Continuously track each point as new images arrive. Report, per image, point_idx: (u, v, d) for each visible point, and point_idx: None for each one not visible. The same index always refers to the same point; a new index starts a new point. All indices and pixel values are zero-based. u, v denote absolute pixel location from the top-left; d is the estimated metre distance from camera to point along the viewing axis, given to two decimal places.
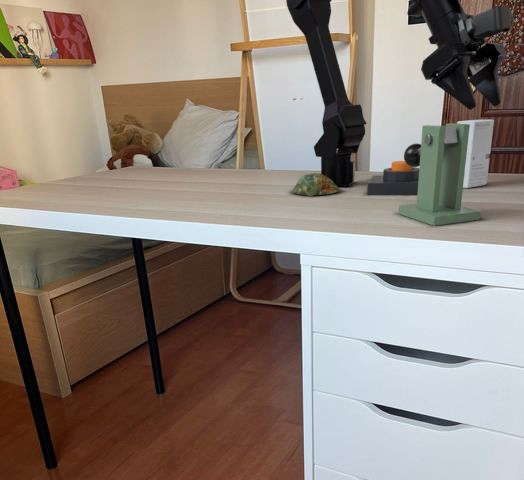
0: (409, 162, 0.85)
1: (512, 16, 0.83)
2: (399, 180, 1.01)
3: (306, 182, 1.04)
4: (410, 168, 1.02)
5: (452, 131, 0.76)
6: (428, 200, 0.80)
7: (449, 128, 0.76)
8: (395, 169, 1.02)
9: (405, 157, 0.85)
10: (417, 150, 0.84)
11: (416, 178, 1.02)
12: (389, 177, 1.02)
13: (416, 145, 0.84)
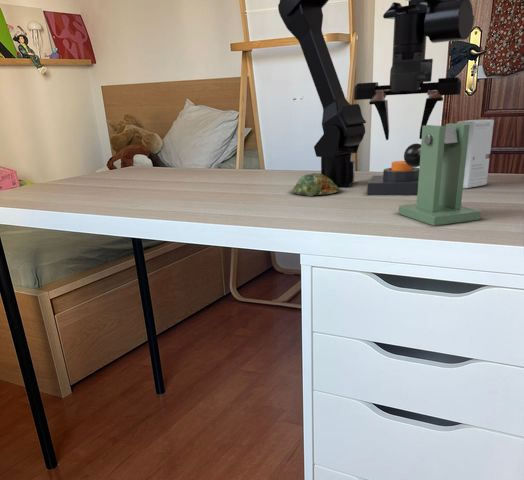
0: (409, 162, 0.85)
1: (422, 79, 0.89)
2: (399, 180, 1.01)
3: (306, 182, 1.04)
4: (410, 168, 1.02)
5: (452, 131, 0.76)
6: (428, 200, 0.80)
7: (449, 128, 0.76)
8: (395, 169, 1.02)
9: (405, 157, 0.85)
10: (417, 150, 0.84)
11: (416, 178, 1.02)
12: (389, 177, 1.02)
13: (416, 145, 0.84)
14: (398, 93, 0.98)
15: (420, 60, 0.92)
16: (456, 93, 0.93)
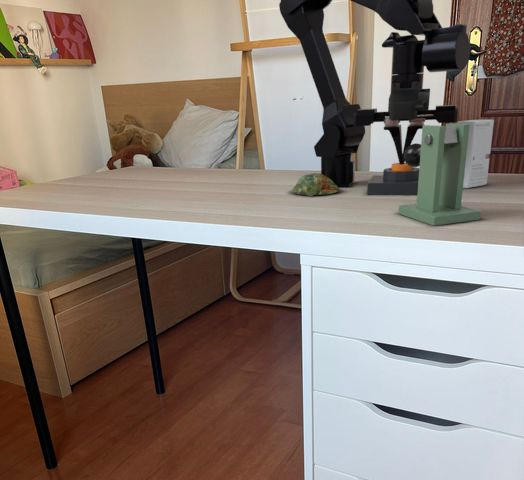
0: (409, 162, 0.85)
1: (419, 108, 0.91)
2: (399, 180, 1.01)
3: (306, 182, 1.04)
4: None
5: (452, 131, 0.76)
6: (428, 200, 0.80)
7: (449, 128, 0.76)
8: None
9: (405, 157, 0.85)
10: (417, 150, 0.84)
11: (416, 178, 1.02)
12: (389, 177, 1.02)
13: (416, 145, 0.84)
14: None
15: (418, 89, 0.94)
16: (453, 121, 0.95)
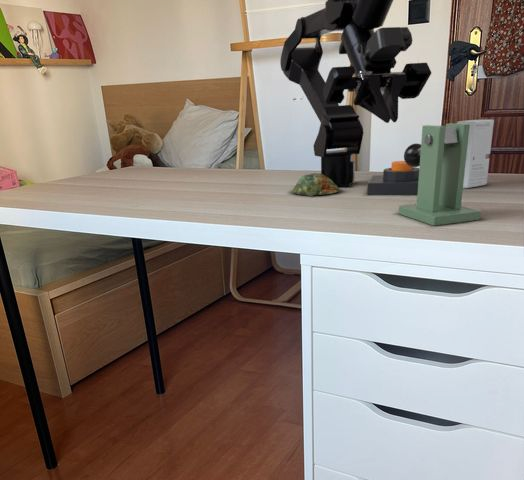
0: (409, 162, 0.85)
1: (407, 34, 0.87)
2: (399, 180, 1.01)
3: (306, 182, 1.04)
4: (410, 168, 1.02)
5: (452, 131, 0.76)
6: (428, 200, 0.80)
7: (449, 128, 0.76)
8: (395, 169, 1.02)
9: (405, 157, 0.85)
10: (417, 150, 0.84)
11: (416, 178, 1.02)
12: (389, 177, 1.02)
13: (416, 145, 0.84)
14: None
15: None
16: (429, 69, 0.92)
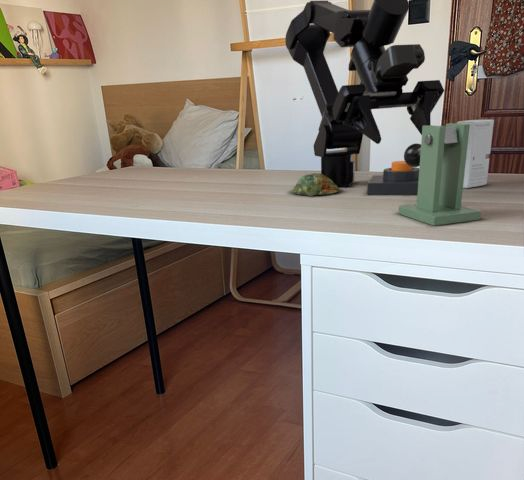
0: (409, 162, 0.85)
1: (419, 52, 0.84)
2: (399, 180, 1.01)
3: (306, 182, 1.04)
4: (410, 168, 1.02)
5: (452, 131, 0.76)
6: (428, 200, 0.80)
7: (449, 128, 0.76)
8: (395, 169, 1.02)
9: (405, 157, 0.85)
10: (417, 150, 0.84)
11: (416, 178, 1.02)
12: (389, 177, 1.02)
13: (416, 145, 0.84)
14: (382, 101, 0.89)
15: None
16: (442, 87, 0.89)
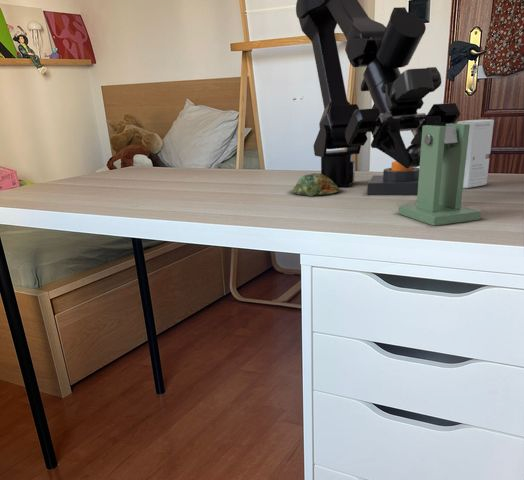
0: None
1: (436, 75, 0.81)
2: (399, 180, 1.01)
3: (306, 182, 1.04)
4: (410, 168, 1.02)
5: (452, 131, 0.76)
6: (428, 200, 0.80)
7: (449, 128, 0.76)
8: (395, 169, 1.02)
9: None
10: (417, 150, 0.84)
11: (416, 178, 1.02)
12: (389, 177, 1.02)
13: (416, 145, 0.84)
14: None
15: None
16: (458, 110, 0.86)
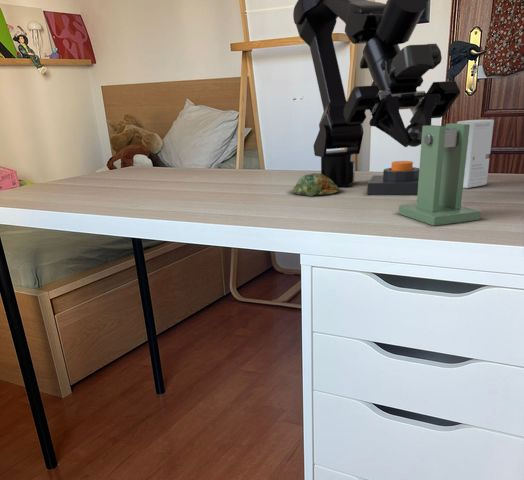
0: None
1: (436, 52, 0.80)
2: (399, 180, 1.01)
3: (306, 182, 1.04)
4: (410, 168, 1.02)
5: (453, 135, 0.76)
6: (428, 200, 0.80)
7: (451, 132, 0.76)
8: (395, 169, 1.02)
9: None
10: (417, 133, 0.83)
11: (416, 178, 1.02)
12: (389, 177, 1.02)
13: (417, 127, 0.83)
14: None
15: None
16: (458, 89, 0.86)
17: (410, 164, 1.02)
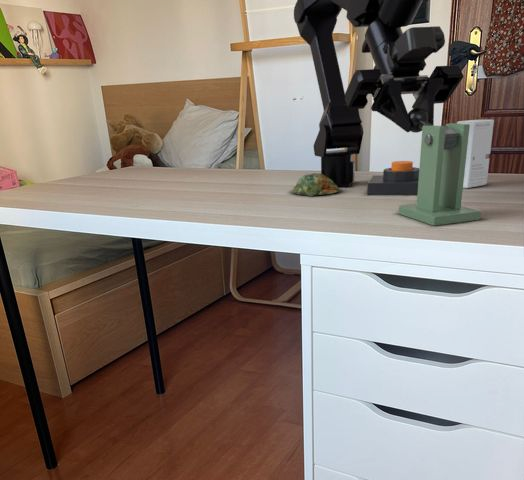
0: None
1: (439, 35, 0.79)
2: (399, 180, 1.01)
3: (306, 182, 1.04)
4: (410, 168, 1.02)
5: (453, 138, 0.77)
6: (428, 200, 0.80)
7: (451, 135, 0.76)
8: (395, 169, 1.02)
9: None
10: (419, 122, 0.82)
11: (416, 178, 1.02)
12: (389, 177, 1.02)
13: (420, 115, 0.82)
14: None
15: None
16: (461, 73, 0.84)
17: (410, 164, 1.02)
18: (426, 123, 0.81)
